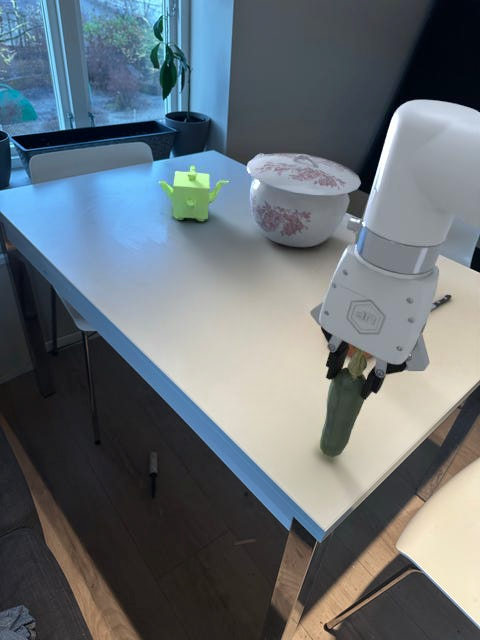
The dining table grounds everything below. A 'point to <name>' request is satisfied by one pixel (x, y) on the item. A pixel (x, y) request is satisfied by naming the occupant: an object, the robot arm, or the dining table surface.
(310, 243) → the chamber pot
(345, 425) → the vegetable
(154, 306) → the dining table surface
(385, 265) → the robot arm
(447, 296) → the chef's knife
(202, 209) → the kettle
